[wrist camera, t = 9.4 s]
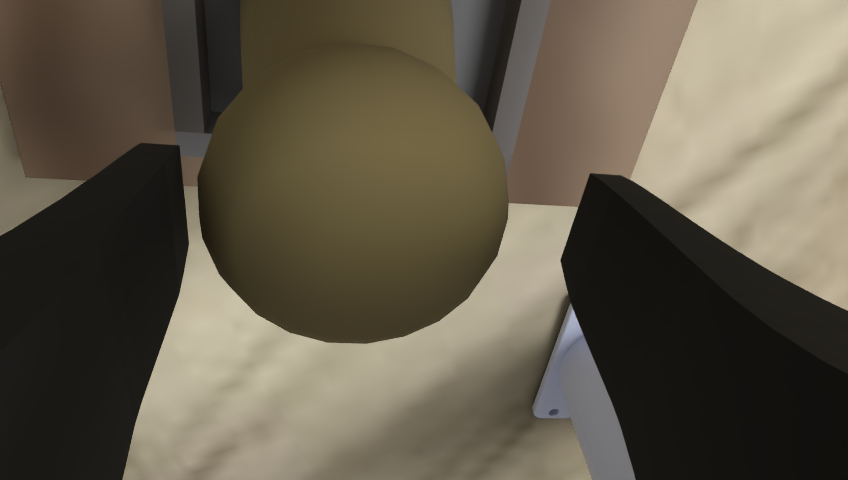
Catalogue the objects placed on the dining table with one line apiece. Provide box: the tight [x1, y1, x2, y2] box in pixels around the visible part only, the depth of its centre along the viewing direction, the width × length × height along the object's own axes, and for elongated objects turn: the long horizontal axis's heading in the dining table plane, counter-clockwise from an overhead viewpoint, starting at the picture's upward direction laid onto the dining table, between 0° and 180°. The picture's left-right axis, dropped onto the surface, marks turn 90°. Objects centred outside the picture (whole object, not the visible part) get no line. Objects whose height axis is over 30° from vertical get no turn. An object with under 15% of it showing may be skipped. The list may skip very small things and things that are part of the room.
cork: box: [197, 0, 509, 344], centre depth 14 cm, size 6×6×11 cm
